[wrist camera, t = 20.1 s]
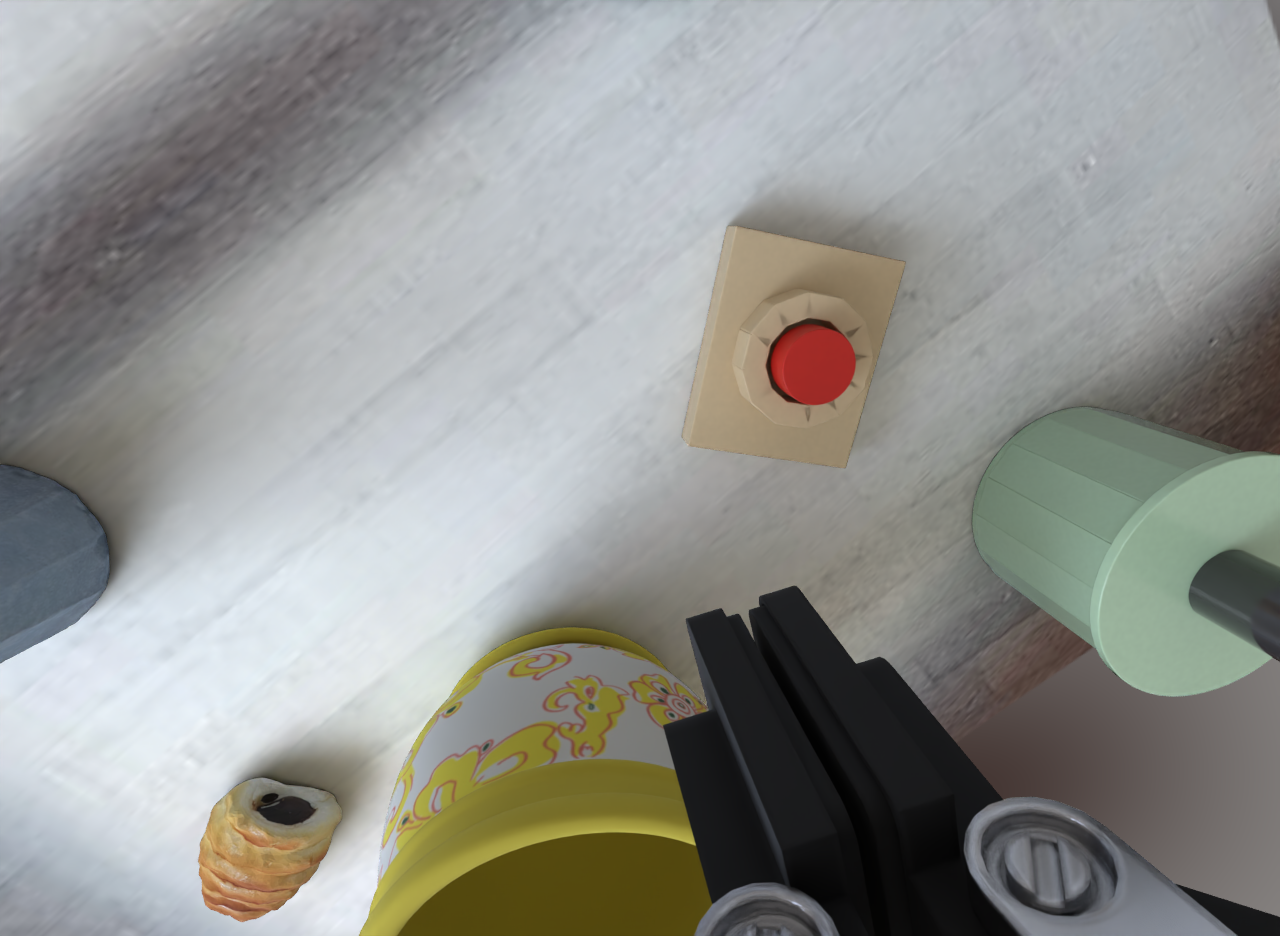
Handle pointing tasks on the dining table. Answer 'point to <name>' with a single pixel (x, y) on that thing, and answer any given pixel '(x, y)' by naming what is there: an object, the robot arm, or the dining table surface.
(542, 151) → the dining table surface
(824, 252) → the switch block
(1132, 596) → the lid
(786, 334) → the button
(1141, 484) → the mint green cup
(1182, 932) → the robot arm
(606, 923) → the flowerpot
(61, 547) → the moka pot
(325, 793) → the pastry
